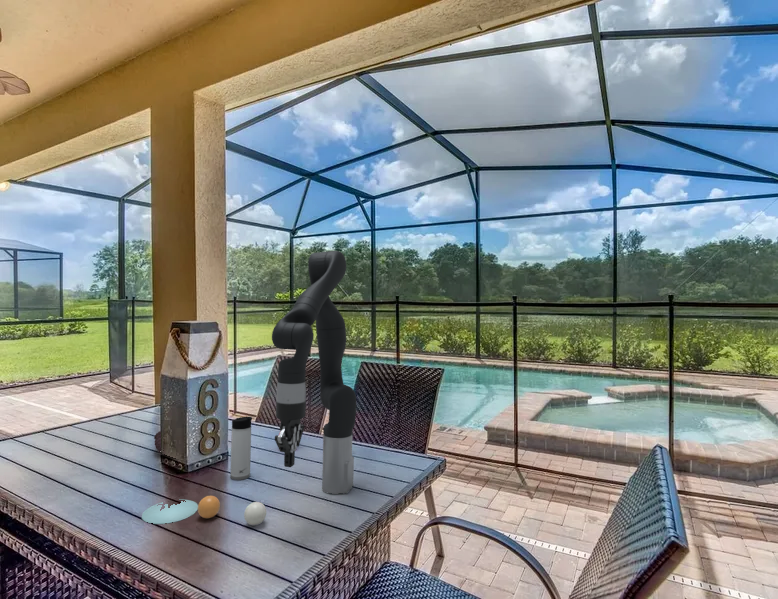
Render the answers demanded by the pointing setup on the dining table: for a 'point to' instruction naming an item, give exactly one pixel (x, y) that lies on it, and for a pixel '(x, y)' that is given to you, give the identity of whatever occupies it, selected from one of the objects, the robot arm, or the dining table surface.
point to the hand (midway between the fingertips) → (289, 465)
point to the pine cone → (158, 441)
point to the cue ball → (255, 513)
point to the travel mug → (241, 448)
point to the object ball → (208, 506)
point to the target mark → (169, 512)
